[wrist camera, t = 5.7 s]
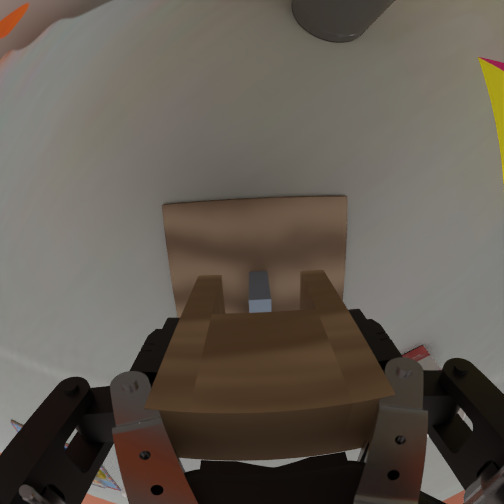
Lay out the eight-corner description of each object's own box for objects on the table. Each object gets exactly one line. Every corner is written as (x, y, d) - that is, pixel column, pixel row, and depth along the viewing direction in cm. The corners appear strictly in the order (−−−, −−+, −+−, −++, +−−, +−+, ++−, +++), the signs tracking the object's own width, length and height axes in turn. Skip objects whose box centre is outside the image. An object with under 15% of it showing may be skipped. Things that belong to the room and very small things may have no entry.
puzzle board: (44, 461, 55) (42, 466, 52) (11, 417, 48) (7, 422, 45) (122, 489, 55) (120, 495, 52) (94, 449, 48) (90, 457, 45)
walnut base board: (164, 204, 31) (162, 205, 30) (344, 195, 31) (347, 196, 30) (191, 375, 38) (190, 379, 37) (332, 368, 38) (333, 373, 37)
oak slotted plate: (198, 275, 15) (143, 408, 6) (323, 269, 15) (395, 394, 6) (203, 316, 15) (166, 455, 7) (321, 310, 15) (374, 444, 7)
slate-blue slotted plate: (249, 271, 32) (248, 300, 26) (267, 270, 32) (271, 299, 26) (255, 379, 37) (255, 416, 30) (269, 378, 37) (272, 415, 30)
